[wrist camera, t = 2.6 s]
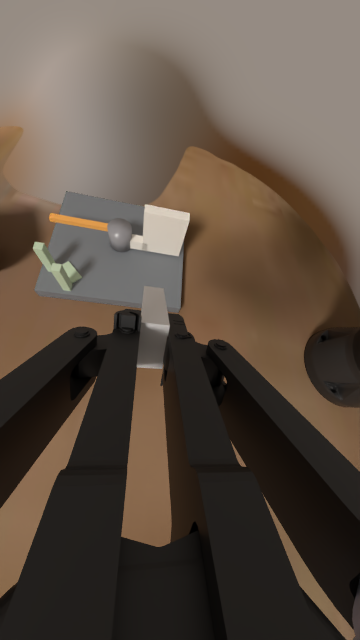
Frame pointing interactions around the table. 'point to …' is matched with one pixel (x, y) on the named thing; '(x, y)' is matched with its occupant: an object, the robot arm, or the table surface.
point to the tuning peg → (158, 230)
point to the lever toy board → (104, 259)
